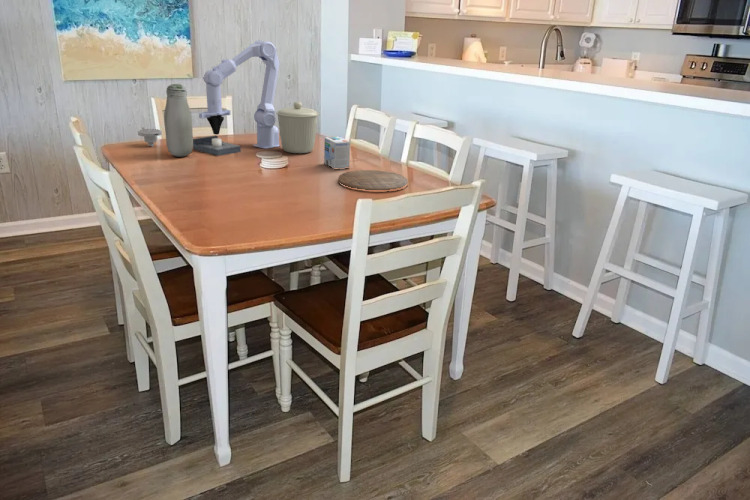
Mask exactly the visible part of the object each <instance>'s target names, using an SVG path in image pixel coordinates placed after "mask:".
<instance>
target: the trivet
mask: <svg viewBox="0 0 750 500" xmlns="http://www.w3.org/2000/svg"><path fill="white" fill-rule="evenodd" d="M337 178H338V181H339V182H340V183H341V184H343V185H345V186H348V187H351V188H357V189H365V190H390V189H396V188H401V187H403V186H405V185H406V184H407V183H408V184H409V181H408V180H409V179H408V178H407V177H406V176H404V175H402V174H399V173H396V172H391V171H385V170H376V169H375V170H374V169H373V170H372V169H359V170H350V171H346V172H344V173H341V174H339V175H338V177H337ZM338 181H337V182H338ZM339 182H338V183H339Z"/></svg>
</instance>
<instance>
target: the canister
mask: <svg viewBox="0 0 750 500" xmlns="http://www.w3.org/2000/svg"><path fill="white" fill-rule="evenodd" d="M275 115H277V118H278V119H277V121H278V127H279V128H278V130H279V138H280V142H281V144H280V145H281V147H282V149H283V151H284V152H287V153H289V154H297V153H298V154H297V155H299V154H308V153H310V152H312V151H313V149H314V147H315V143H316V142H315V141H316V134H317V125H318V117H319V115H320V113H319V112H317V111H316V110H315V109H312V108H309V107H303V104H302V102H300V101H295V102H293V107H284V108H280V109H279V110H277V111H275Z"/></svg>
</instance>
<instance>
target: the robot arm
mask: <svg viewBox="0 0 750 500" xmlns="http://www.w3.org/2000/svg"><path fill="white" fill-rule="evenodd" d="M277 51H278V49H277V48H276V46H275V44H273V43H272V42H271V41H266V40H265V41H264V40H259V39H258V40H256V41H254V42H253V43H250V44H249V45H248V46H247V47H246V48H244V49H243V50H241V52H239V53H238V54H237V55H235V56H234V57H233V58H232V59H229V58H226V59H221V62H220V63H219V64H217V65H216V66H212V67H211V68H212V69H208V70H206V71H205V72H204V75H203V77H202V79H203V81H204V82H205V87H206V90H205V91H206V105H207V106H206V107H207V111H204V112H199V113H198V118H199V119H202V120H203V119H207V121H208V123H209V125H210V127H211V130H212V134H213V135H216V136H218V135H220V131H221V127H222V125H223V121H224V119H225V117H224V116H231V115H232V114H231V110H229V109H223V107H222V102H223V101H222V90H221V89H222V88H221V85H222V83H223V80H226V78H228V77H230V76H231V75H232V74H234V73H235V72H236V70H237V67H238V66H240V65H241V64H243V63H244V62H246V61H248V60H250V59H251V58H254V57H255V58H256V57H258V58H260V59H261V60H262V62H263V63H264V64H265V72H264V78H263V85H262V91H261V98H260V102H259V103H258V105H257V109H256V110H255V112H254V114H253V119H254V121H255V122H256V144H252V147H256V148H260V149H271V148H276V147H277V148H278V147H281V144H280V130H279V128H278V127H277V126H276V125H275V124H276V122H277V121H276V109H275V107H274V101H275V100H274V99H275V95H276V88H277V83H278V75H279V70H280V60H279V57H278V53H277Z"/></svg>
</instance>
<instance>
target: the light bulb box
mask: <svg viewBox="0 0 750 500" xmlns="http://www.w3.org/2000/svg"><path fill="white" fill-rule="evenodd" d="M323 150H324V151H323V153H324V155H323V158H324V160H323V164H324V163H325V165H326V164H327V165H329V166H331V167H333V168H345V167H349V168H350V156H351V155H350V154H351V152H350V151H351V141H349V140H347V139H345V138H343V137H341V136H329V137H327V136H326V137H324V149H323ZM327 165H326V166H327ZM329 166H328V167H329Z"/></svg>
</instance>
